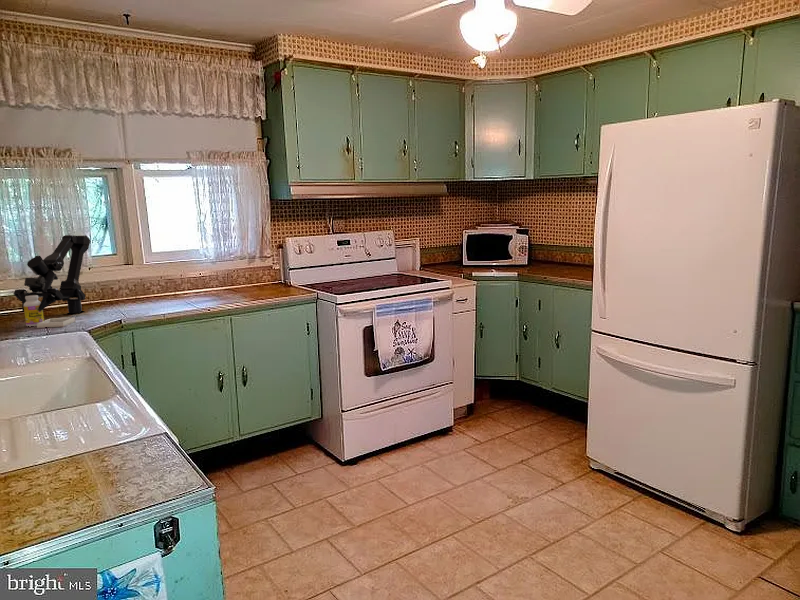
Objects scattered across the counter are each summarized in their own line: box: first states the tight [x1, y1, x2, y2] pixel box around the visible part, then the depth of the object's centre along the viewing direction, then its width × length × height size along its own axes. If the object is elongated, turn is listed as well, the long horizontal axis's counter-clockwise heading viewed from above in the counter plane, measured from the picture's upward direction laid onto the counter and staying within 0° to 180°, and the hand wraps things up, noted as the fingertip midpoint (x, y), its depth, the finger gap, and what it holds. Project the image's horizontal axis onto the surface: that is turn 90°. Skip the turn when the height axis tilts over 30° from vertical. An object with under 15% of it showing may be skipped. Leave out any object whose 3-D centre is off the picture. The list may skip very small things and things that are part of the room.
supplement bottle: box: [24, 295, 45, 328], centre depth 245 cm, size 7×7×13 cm
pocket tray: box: [36, 317, 76, 329], centre depth 245 cm, size 12×11×2 cm
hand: (31, 310), depth 243 cm, fingers closed on supplement bottle, 7 cm apart
